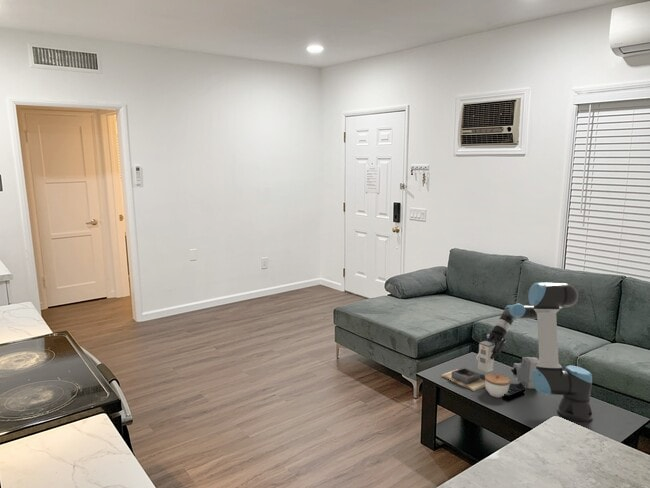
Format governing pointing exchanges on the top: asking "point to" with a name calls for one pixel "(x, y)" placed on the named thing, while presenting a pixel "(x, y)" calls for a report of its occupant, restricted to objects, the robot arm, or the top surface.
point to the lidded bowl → (496, 384)
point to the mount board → (471, 386)
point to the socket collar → (459, 374)
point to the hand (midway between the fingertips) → (482, 360)
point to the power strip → (485, 356)
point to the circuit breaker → (525, 371)
